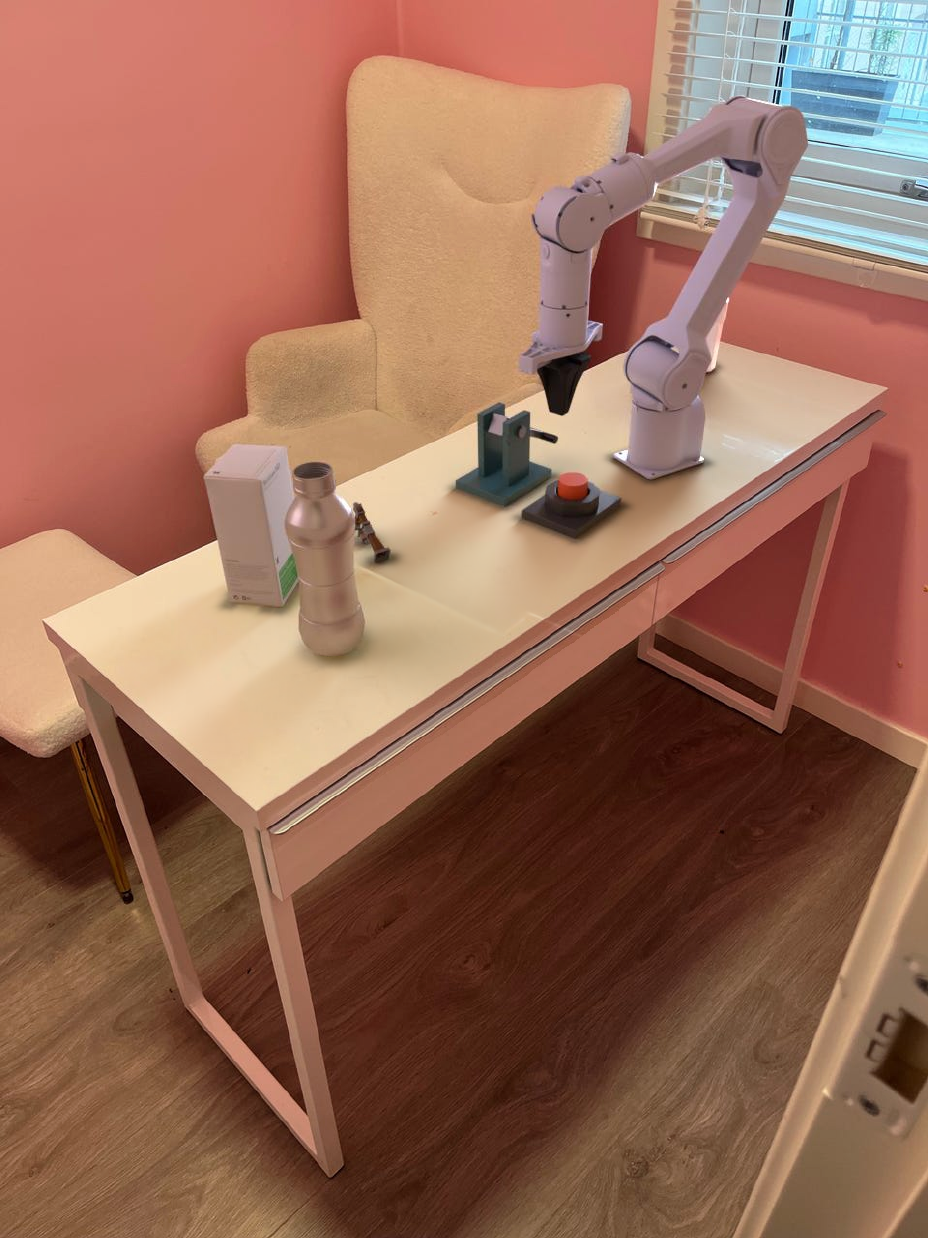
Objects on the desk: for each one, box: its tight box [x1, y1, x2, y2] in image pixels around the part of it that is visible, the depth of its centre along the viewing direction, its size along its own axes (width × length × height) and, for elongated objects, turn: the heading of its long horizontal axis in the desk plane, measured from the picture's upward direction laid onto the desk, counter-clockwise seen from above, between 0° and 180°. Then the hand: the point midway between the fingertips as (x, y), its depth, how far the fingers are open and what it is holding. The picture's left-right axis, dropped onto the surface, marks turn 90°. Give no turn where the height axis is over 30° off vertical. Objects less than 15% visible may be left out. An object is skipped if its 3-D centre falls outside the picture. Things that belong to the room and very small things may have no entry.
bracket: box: [455, 401, 552, 507], centre depth 124 cm, size 10×8×10 cm
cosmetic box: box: [203, 443, 299, 608], centre depth 104 cm, size 8×7×16 cm
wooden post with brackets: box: [352, 501, 391, 563], centre depth 114 cm, size 2×8×4 cm, turn 29°
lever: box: [488, 413, 559, 445], centre depth 125 cm, size 11×5×2 cm, turn 140°
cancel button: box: [557, 471, 589, 500], centre depth 118 cm, size 4×4×2 cm
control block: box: [521, 479, 622, 540], centre depth 119 cm, size 10×8×3 cm
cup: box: [706, 297, 730, 373], centre depth 153 cm, size 7×7×11 cm
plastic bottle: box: [284, 461, 366, 657], centre depth 94 cm, size 6×7×20 cm
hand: (558, 412), depth 119 cm, fingers closed
